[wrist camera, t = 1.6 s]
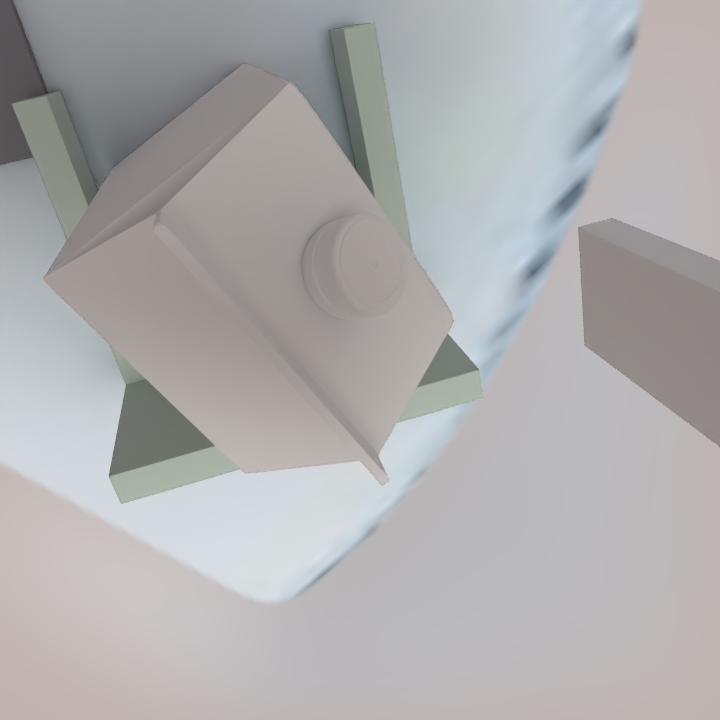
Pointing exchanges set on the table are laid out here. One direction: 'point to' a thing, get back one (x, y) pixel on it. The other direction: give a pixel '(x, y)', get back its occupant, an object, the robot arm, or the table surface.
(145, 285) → the milk carton
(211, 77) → the table surface
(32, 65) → the mat
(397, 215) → the rack
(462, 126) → the table surface
